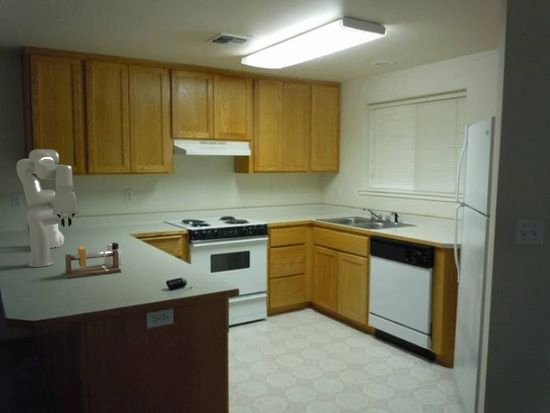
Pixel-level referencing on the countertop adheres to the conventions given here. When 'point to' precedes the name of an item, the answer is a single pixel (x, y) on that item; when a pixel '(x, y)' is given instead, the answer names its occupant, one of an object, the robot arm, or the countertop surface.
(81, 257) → the collar
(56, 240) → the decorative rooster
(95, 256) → the pipe stand
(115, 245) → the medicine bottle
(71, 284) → the countertop surface
